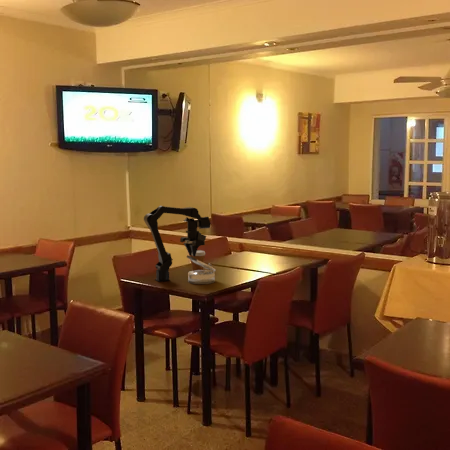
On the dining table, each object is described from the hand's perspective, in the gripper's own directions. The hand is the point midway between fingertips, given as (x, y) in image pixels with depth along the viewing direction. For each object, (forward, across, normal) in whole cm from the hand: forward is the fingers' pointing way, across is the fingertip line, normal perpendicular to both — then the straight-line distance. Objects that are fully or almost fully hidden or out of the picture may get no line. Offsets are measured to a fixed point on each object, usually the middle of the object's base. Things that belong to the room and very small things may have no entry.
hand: (192, 255), depth 337 cm
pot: (+13, -11, 0) cm, 17 cm away
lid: (+3, -11, +1) cm, 12 cm away
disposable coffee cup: (+13, +17, -14) cm, 26 cm away
